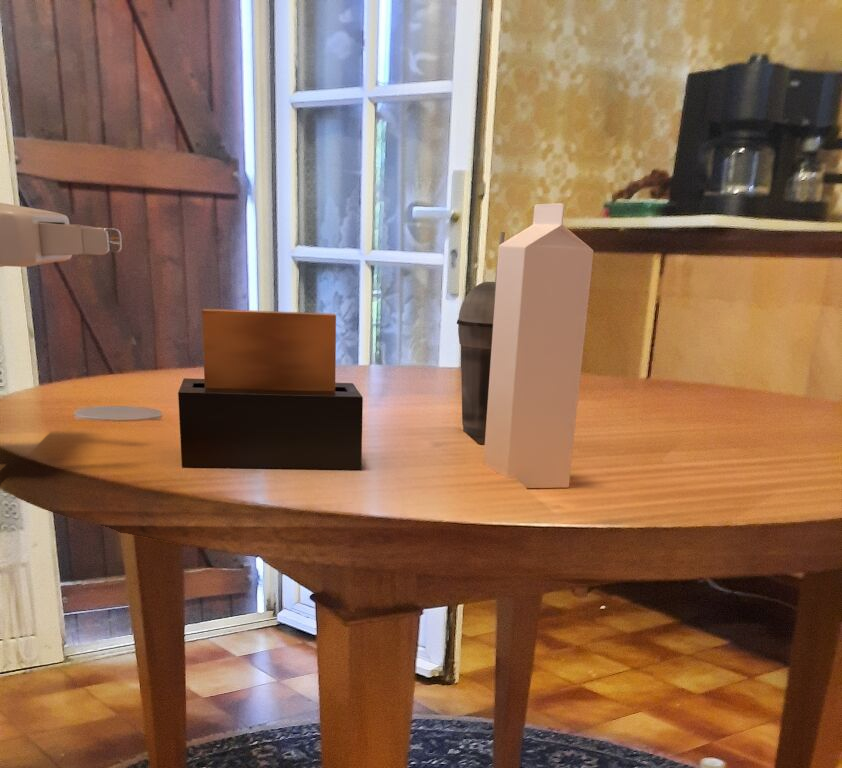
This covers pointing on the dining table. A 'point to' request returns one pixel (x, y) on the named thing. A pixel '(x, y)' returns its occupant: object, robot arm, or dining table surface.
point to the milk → (537, 351)
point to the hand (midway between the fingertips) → (114, 241)
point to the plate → (118, 413)
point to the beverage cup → (476, 355)
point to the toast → (269, 350)
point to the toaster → (270, 428)
